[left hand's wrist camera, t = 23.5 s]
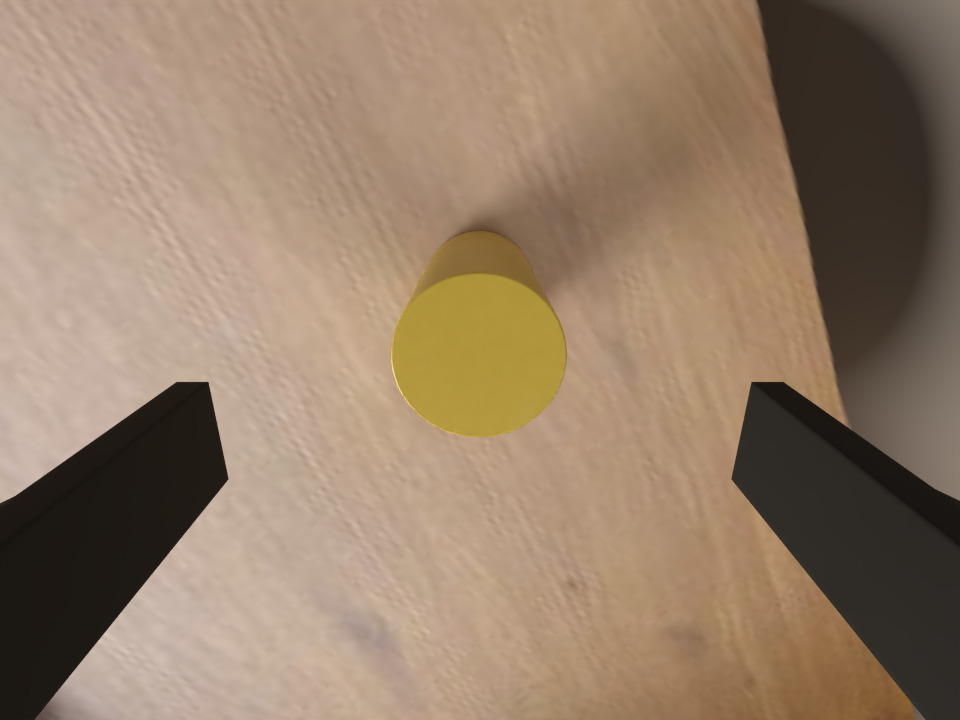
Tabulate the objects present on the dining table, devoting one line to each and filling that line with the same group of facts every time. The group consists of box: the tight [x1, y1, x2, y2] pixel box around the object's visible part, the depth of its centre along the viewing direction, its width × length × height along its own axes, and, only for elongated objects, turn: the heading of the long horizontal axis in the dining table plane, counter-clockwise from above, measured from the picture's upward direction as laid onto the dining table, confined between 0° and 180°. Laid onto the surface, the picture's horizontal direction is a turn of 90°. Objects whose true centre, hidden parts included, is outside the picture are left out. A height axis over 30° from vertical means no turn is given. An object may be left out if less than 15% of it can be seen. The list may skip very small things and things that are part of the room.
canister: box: [391, 231, 567, 437], centre depth 23 cm, size 6×6×12 cm
